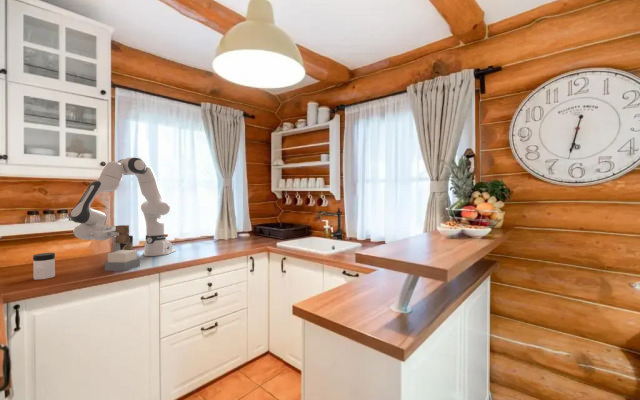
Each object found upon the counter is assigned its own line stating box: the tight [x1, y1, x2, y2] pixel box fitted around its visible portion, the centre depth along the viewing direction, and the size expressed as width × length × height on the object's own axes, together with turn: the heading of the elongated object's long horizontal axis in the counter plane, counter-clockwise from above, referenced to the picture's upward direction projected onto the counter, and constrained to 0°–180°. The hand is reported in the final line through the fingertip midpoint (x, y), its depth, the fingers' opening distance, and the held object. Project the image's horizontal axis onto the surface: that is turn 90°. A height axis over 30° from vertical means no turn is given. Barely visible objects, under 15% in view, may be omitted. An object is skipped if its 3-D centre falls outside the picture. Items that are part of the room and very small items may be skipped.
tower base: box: [104, 257, 141, 272], centre depth 166 cm, size 12×12×5 cm
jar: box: [32, 252, 56, 281], centre depth 147 cm, size 9×8×12 cm
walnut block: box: [115, 224, 130, 243], centre depth 165 cm, size 4×4×10 cm
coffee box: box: [112, 235, 134, 252], centre depth 183 cm, size 9×6×16 cm
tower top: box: [107, 249, 138, 262], centre depth 166 cm, size 10×10×5 cm
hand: (123, 233), depth 165 cm, fingers closed on walnut block, 4 cm apart
